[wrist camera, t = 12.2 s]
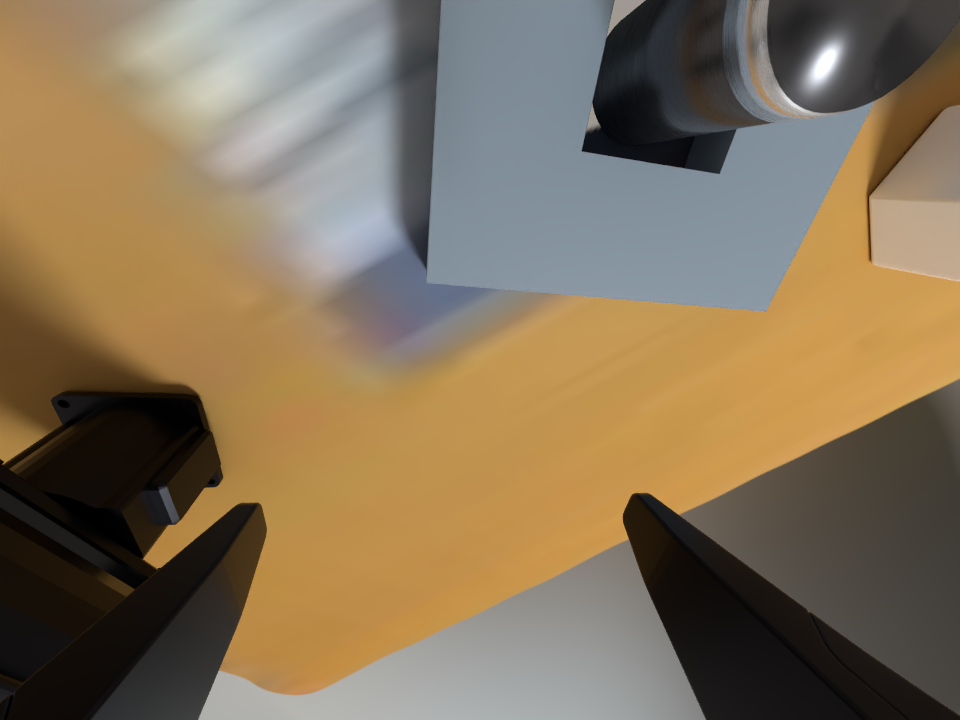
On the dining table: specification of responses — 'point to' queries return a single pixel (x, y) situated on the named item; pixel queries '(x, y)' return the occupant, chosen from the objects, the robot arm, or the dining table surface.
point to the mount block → (603, 174)
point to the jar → (921, 205)
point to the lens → (757, 62)
